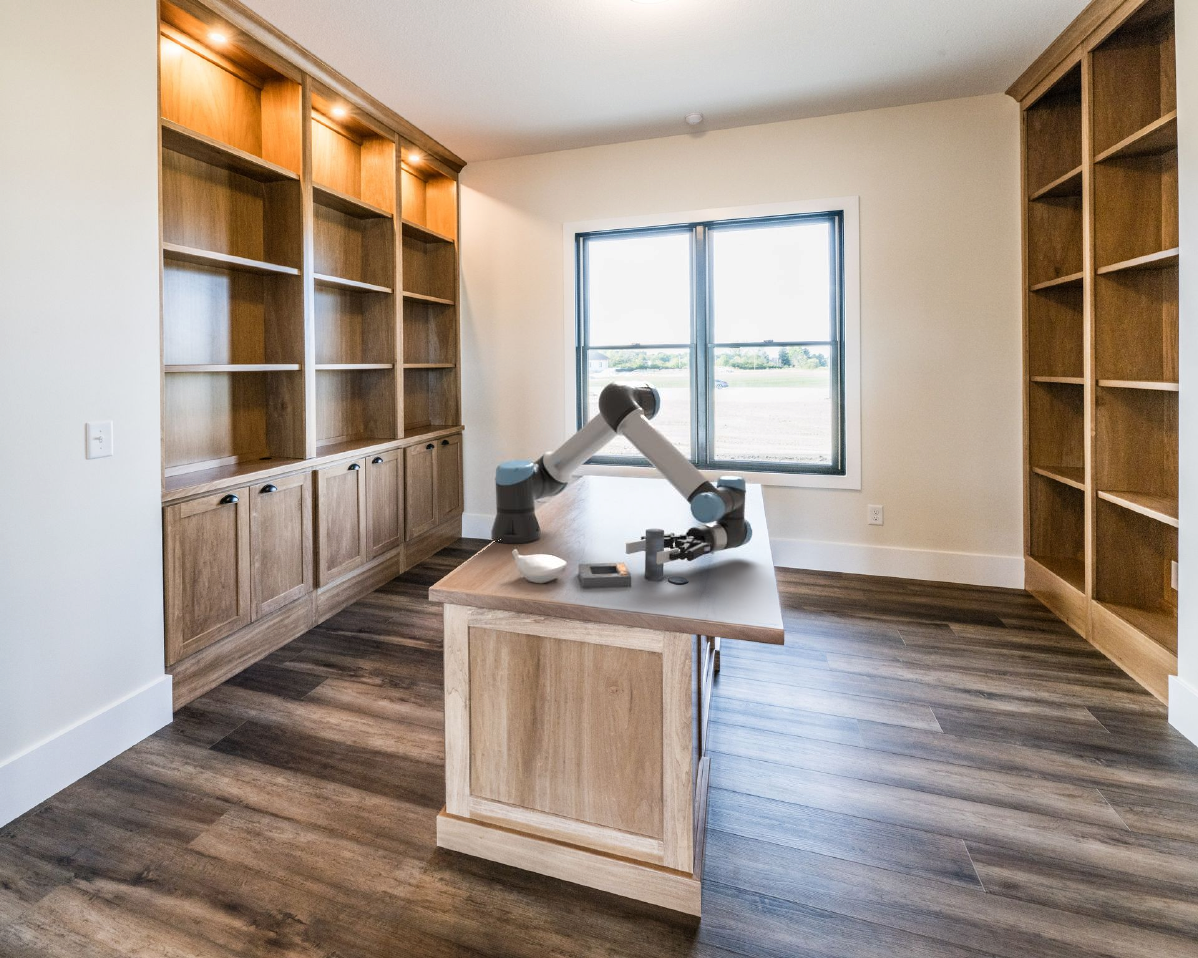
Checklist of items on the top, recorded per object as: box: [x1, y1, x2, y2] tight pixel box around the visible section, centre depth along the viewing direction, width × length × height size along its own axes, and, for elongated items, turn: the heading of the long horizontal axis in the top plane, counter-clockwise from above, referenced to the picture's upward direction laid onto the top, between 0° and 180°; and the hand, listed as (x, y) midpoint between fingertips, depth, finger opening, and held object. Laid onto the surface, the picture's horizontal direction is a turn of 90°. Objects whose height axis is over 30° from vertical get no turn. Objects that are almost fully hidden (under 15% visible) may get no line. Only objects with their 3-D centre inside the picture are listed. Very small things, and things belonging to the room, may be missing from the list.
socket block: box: [578, 562, 632, 589], centre depth 158 cm, size 12×12×3 cm
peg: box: [644, 528, 665, 582], centre depth 158 cm, size 4×4×12 cm
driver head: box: [511, 549, 568, 584], centre depth 157 cm, size 10×11×12 cm
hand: (641, 553), depth 156 cm, fingers open, 10 cm apart
